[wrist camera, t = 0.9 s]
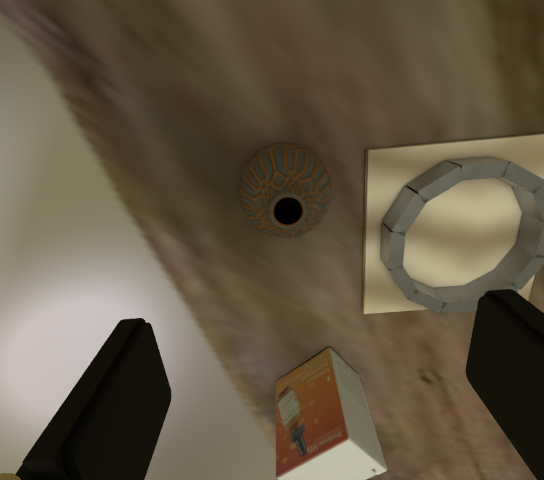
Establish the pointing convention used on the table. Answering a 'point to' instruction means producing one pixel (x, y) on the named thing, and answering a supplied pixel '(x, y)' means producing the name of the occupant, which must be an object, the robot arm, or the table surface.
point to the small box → (325, 424)
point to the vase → (285, 190)
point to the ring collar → (511, 269)
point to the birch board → (443, 217)
